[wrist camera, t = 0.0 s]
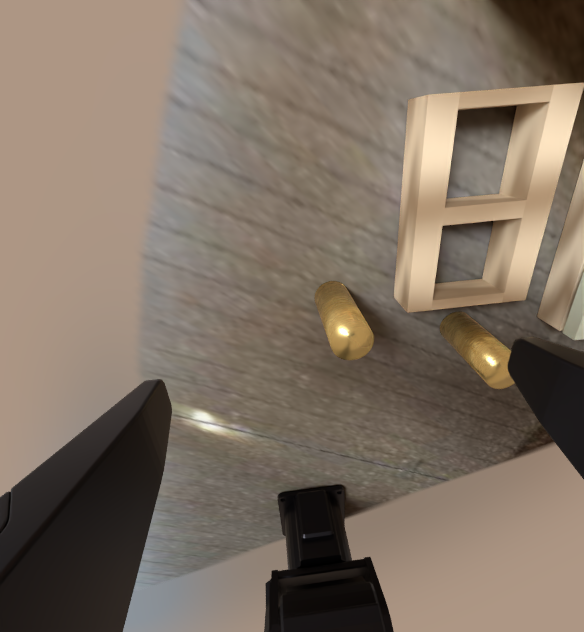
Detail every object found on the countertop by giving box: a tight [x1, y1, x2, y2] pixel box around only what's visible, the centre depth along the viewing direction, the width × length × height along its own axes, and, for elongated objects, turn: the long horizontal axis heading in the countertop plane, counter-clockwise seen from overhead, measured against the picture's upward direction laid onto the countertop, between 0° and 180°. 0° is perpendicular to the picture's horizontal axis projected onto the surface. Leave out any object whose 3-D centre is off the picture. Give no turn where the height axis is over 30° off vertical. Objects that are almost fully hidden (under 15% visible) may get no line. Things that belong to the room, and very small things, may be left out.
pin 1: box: [315, 281, 374, 360], centre depth 21 cm, size 2×2×6 cm
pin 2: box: [440, 312, 515, 389], centre depth 23 cm, size 2×2×6 cm
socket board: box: [394, 83, 584, 313], centre depth 21 cm, size 12×8×2 cm, turn 4°
